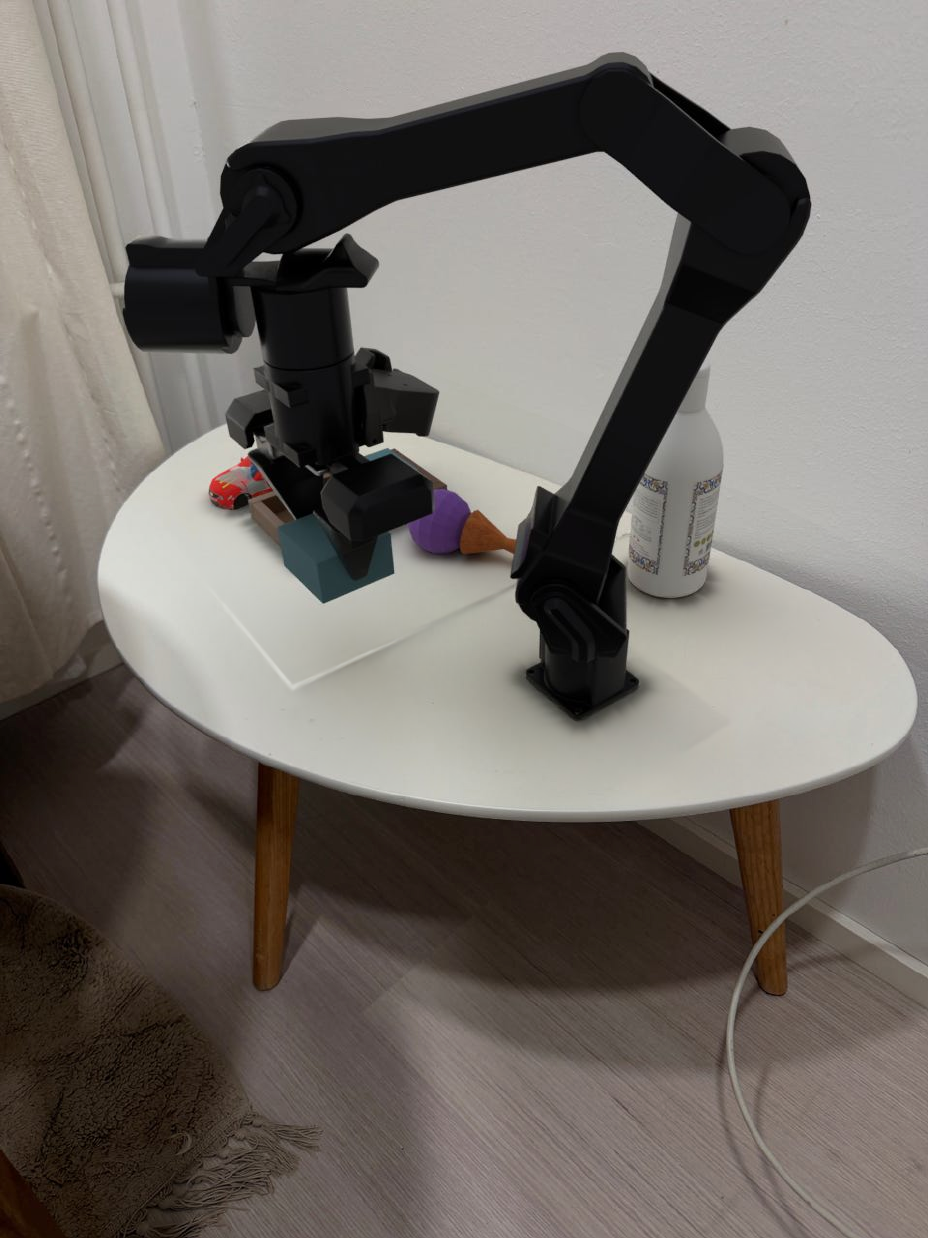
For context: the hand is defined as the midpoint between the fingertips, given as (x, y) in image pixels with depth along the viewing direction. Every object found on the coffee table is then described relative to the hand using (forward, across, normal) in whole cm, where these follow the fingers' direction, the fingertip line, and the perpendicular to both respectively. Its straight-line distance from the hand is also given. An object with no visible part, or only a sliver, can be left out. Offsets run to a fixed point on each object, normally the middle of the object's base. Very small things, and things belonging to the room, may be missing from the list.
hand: (337, 558), depth 67 cm
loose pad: (+1, 0, 0) cm, 1 cm away
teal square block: (+10, +20, -15) cm, 28 cm away
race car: (+11, +31, -8) cm, 33 cm away
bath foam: (+11, -7, -28) cm, 31 cm away
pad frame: (+11, +21, -12) cm, 26 cm away
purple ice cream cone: (+11, +4, -18) cm, 22 cm away
